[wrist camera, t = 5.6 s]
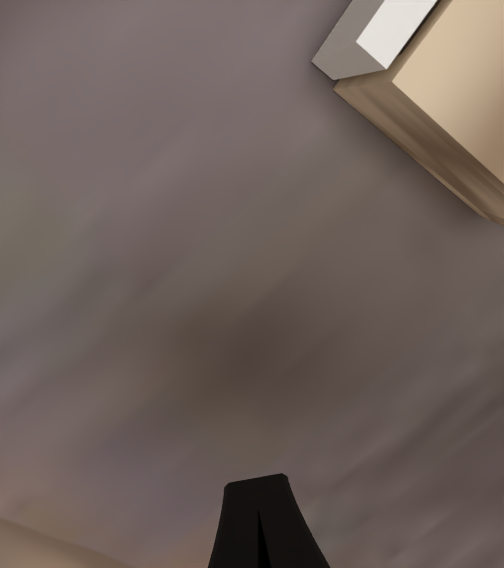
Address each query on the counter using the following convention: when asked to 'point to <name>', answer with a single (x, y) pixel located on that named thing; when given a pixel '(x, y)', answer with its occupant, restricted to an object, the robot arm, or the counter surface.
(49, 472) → the counter surface
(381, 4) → the door
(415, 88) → the beige rectangular block
